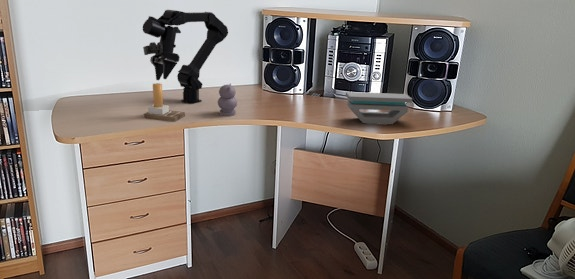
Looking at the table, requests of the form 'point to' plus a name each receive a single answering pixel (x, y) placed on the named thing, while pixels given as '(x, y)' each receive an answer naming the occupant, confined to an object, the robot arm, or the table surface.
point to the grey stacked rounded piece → (227, 100)
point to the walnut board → (166, 116)
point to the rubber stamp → (158, 101)
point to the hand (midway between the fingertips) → (161, 79)
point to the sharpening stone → (378, 106)
